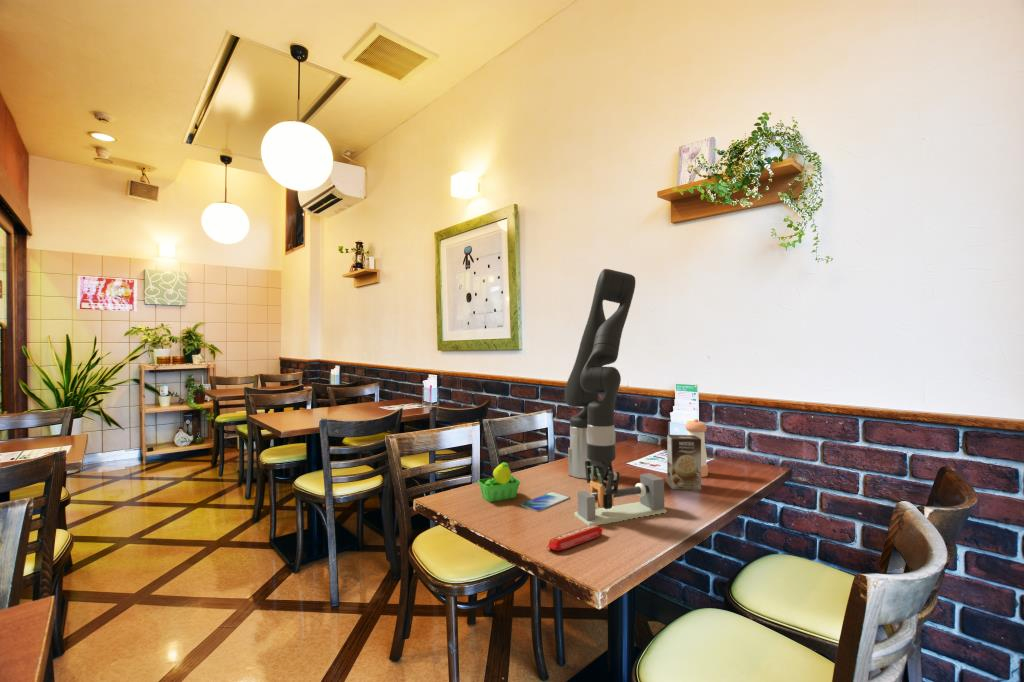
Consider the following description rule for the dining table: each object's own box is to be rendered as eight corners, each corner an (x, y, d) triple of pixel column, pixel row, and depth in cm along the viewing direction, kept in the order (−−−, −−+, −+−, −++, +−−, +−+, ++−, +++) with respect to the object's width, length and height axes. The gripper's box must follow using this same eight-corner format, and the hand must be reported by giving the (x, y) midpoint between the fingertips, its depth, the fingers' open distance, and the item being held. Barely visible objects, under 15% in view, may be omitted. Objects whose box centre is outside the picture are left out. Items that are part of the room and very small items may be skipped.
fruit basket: (510, 490, 144) (510, 455, 144) (523, 499, 136) (523, 461, 136) (477, 496, 139) (476, 459, 139) (488, 505, 131) (487, 466, 131)
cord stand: (589, 526, 116) (588, 491, 116) (574, 515, 123) (573, 482, 123) (666, 513, 124) (666, 480, 124) (648, 503, 131) (647, 472, 131)
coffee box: (671, 489, 143) (671, 438, 143) (666, 483, 150) (666, 434, 150) (702, 490, 142) (701, 438, 142) (695, 483, 149) (695, 434, 149)
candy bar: (594, 532, 113) (594, 520, 113) (605, 537, 110) (605, 525, 110) (544, 550, 104) (544, 537, 103) (554, 556, 101) (554, 543, 101)
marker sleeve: (600, 508, 118) (600, 486, 118) (590, 501, 123) (589, 481, 123) (613, 506, 120) (613, 484, 120) (603, 499, 125) (602, 479, 125)
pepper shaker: (683, 470, 163) (682, 417, 163) (704, 471, 162) (703, 417, 162) (688, 476, 156) (687, 421, 156) (710, 477, 155) (709, 421, 155)
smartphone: (571, 497, 136) (538, 511, 126) (571, 500, 136) (538, 514, 126) (552, 491, 142) (519, 503, 131) (552, 493, 142) (519, 506, 131)
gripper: (628, 445, 116) (629, 512, 116) (599, 434, 130) (599, 494, 130) (603, 448, 113) (604, 516, 114) (575, 437, 127) (576, 497, 127)
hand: (601, 504), depth 122 cm, fingers closed on marker sleeve, 5 cm apart
